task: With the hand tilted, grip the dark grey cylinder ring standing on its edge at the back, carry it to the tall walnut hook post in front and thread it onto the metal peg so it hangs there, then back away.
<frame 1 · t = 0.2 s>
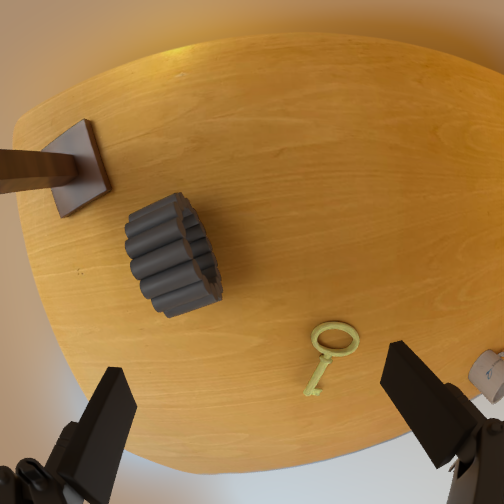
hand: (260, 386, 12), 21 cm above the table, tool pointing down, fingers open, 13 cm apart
mug: (485, 361, 41), on the table
hook stand: (81, 165, 28), on the table
key: (324, 354, 36), on the table
grey cylinder ring: (187, 242, 31), on the table
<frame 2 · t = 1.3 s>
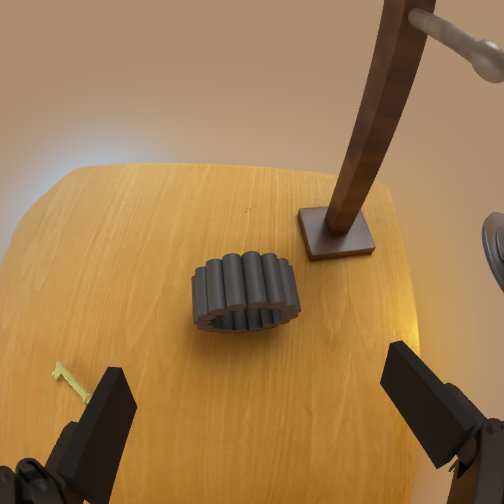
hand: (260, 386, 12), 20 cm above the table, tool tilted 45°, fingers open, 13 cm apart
hook stand: (336, 239, 39), on the table
key: (92, 399, 27), on the table
grey cylinder ring: (245, 313, 34), on the table
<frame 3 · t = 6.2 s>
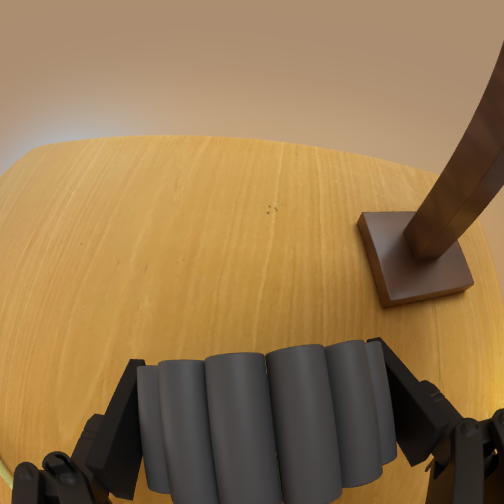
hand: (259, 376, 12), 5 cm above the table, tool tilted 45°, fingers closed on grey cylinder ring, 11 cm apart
hook stand: (419, 267, 21), on the table
key: (27, 491, 9), on the table
grey cylinder ring: (260, 414, 15), on the table, touching gripper
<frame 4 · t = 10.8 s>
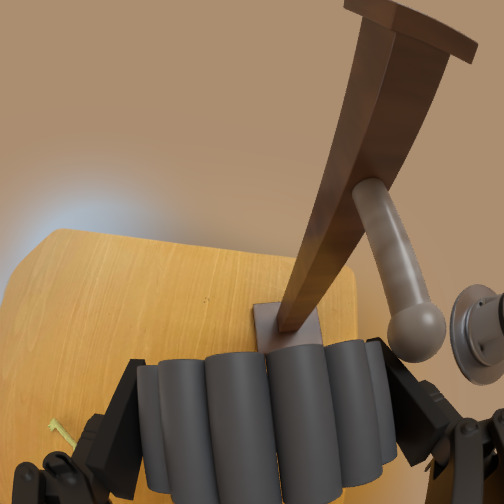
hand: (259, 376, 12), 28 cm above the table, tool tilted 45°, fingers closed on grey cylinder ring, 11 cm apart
hook stand: (287, 333, 42), on the table
key: (80, 447, 29), on the table
grey cylinder ring: (260, 414, 15), point 24 cm above the table, touching gripper
when the fingers open (29 cm above the table, at t = 17.4 s): grey cylinder ring stays where it is, resting on hook stand.
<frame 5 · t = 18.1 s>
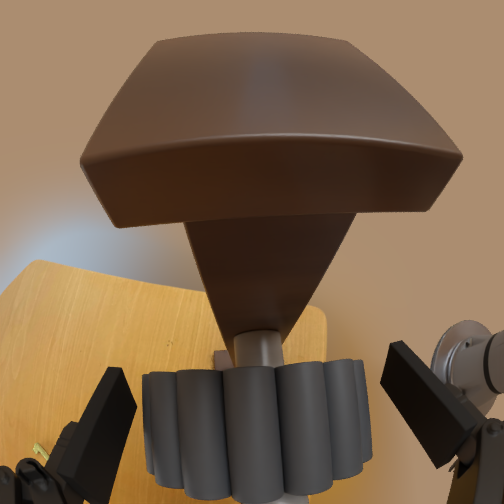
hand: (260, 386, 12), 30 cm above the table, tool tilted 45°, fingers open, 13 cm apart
hook stand: (249, 380, 39), on the table
key: (61, 469, 27), on the table
grey cylinder ring: (242, 416, 16), point 24 cm above the table, tilted 8°, touching hook stand
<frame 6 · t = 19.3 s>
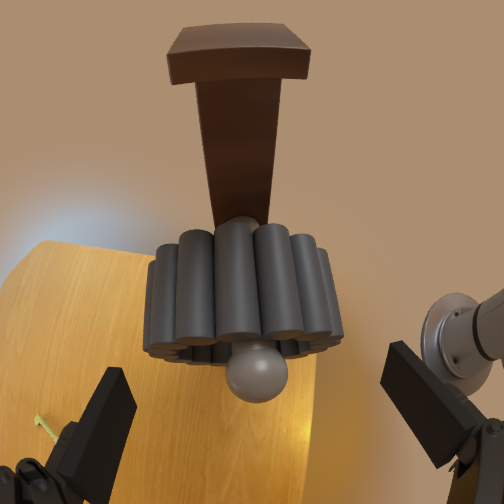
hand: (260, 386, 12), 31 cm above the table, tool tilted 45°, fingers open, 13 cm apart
hook stand: (245, 343, 43), on the table
key: (61, 441, 31), on the table
grey cylinder ring: (231, 334, 20), point 24 cm above the table, tilted 9°, touching hook stand
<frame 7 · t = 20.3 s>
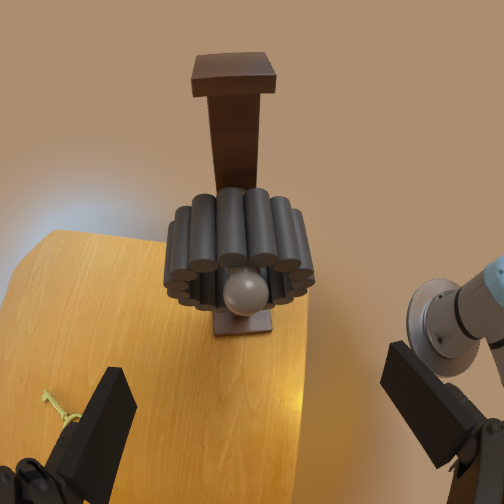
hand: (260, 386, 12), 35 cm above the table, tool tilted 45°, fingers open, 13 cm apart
hook stand: (242, 318, 48), on the table
key: (67, 416, 36), on the table
grey cylinder ring: (232, 288, 26), point 24 cm above the table, tilted 7°, touching hook stand
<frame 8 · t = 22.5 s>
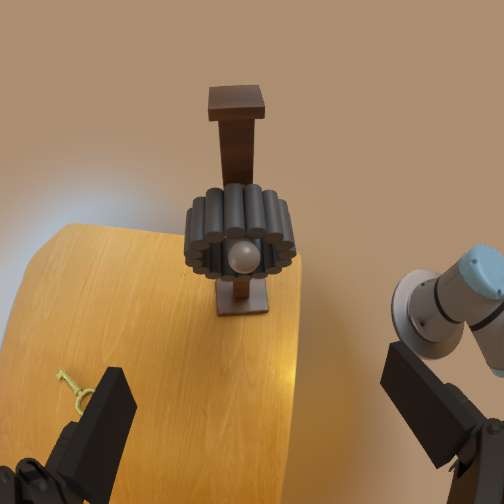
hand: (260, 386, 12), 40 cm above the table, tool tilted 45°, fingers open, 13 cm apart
hook stand: (242, 300, 56), on the table
key: (81, 392, 43), on the table
grey cylinder ring: (234, 263, 33), point 24 cm above the table, tilted 7°, touching hook stand
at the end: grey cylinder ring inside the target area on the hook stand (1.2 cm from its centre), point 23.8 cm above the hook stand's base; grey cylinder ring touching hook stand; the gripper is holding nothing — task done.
